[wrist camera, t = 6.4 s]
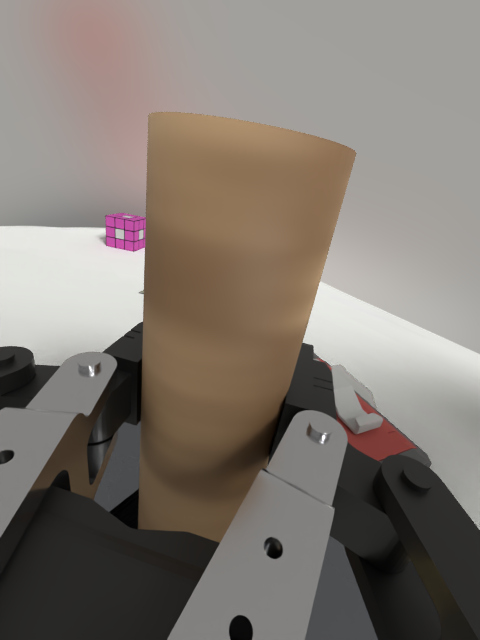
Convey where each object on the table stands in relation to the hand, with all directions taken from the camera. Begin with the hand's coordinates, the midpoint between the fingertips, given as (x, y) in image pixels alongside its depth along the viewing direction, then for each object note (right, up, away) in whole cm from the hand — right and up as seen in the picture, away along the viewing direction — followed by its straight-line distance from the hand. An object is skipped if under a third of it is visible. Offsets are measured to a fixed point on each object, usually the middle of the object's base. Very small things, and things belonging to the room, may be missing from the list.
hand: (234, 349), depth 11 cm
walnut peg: (-2, -9, +2) cm, 10 cm away
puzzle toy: (-22, +16, +50) cm, 56 cm away
